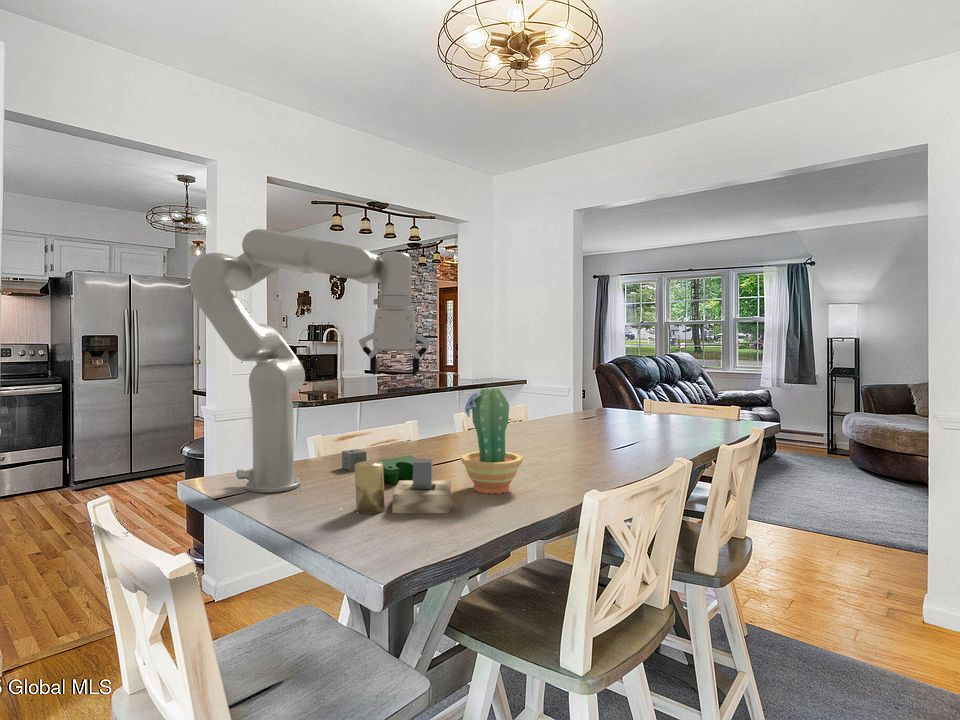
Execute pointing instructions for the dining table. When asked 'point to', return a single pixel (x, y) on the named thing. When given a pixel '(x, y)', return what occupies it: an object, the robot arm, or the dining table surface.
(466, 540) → the dining table surface
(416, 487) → the square bit
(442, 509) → the socket block
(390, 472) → the clamp
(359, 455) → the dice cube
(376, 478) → the round bit
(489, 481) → the potted cactus
